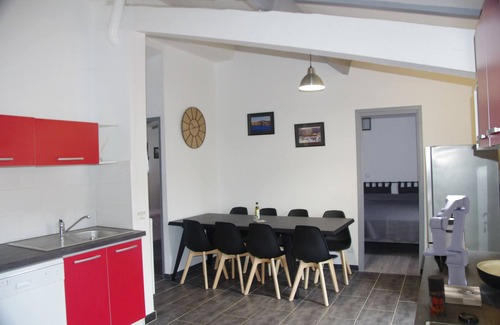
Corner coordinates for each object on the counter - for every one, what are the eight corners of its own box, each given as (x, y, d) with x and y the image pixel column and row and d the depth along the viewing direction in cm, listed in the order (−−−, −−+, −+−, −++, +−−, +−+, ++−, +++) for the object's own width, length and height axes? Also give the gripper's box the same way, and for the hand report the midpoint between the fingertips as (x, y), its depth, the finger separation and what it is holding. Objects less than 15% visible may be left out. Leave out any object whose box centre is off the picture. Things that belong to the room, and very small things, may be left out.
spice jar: (427, 312, 163) (424, 276, 163) (438, 310, 165) (435, 274, 165) (438, 317, 158) (435, 280, 158) (449, 314, 160) (447, 277, 160)
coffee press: (438, 260, 241) (435, 211, 241) (468, 261, 234) (464, 211, 234) (438, 267, 226) (434, 215, 226) (470, 269, 219) (466, 215, 219)
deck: (438, 289, 190) (438, 284, 190) (479, 292, 182) (479, 287, 182) (437, 301, 174) (436, 296, 174) (481, 306, 166) (481, 300, 166)
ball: (462, 291, 178) (464, 298, 177) (465, 291, 175) (468, 299, 174) (469, 290, 178) (471, 297, 177) (472, 290, 175) (475, 298, 174)
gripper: (422, 244, 185) (424, 273, 185) (457, 245, 178) (459, 275, 178) (423, 241, 191) (425, 269, 191) (457, 242, 184) (459, 271, 184)
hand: (441, 271), depth 185 cm, fingers closed
